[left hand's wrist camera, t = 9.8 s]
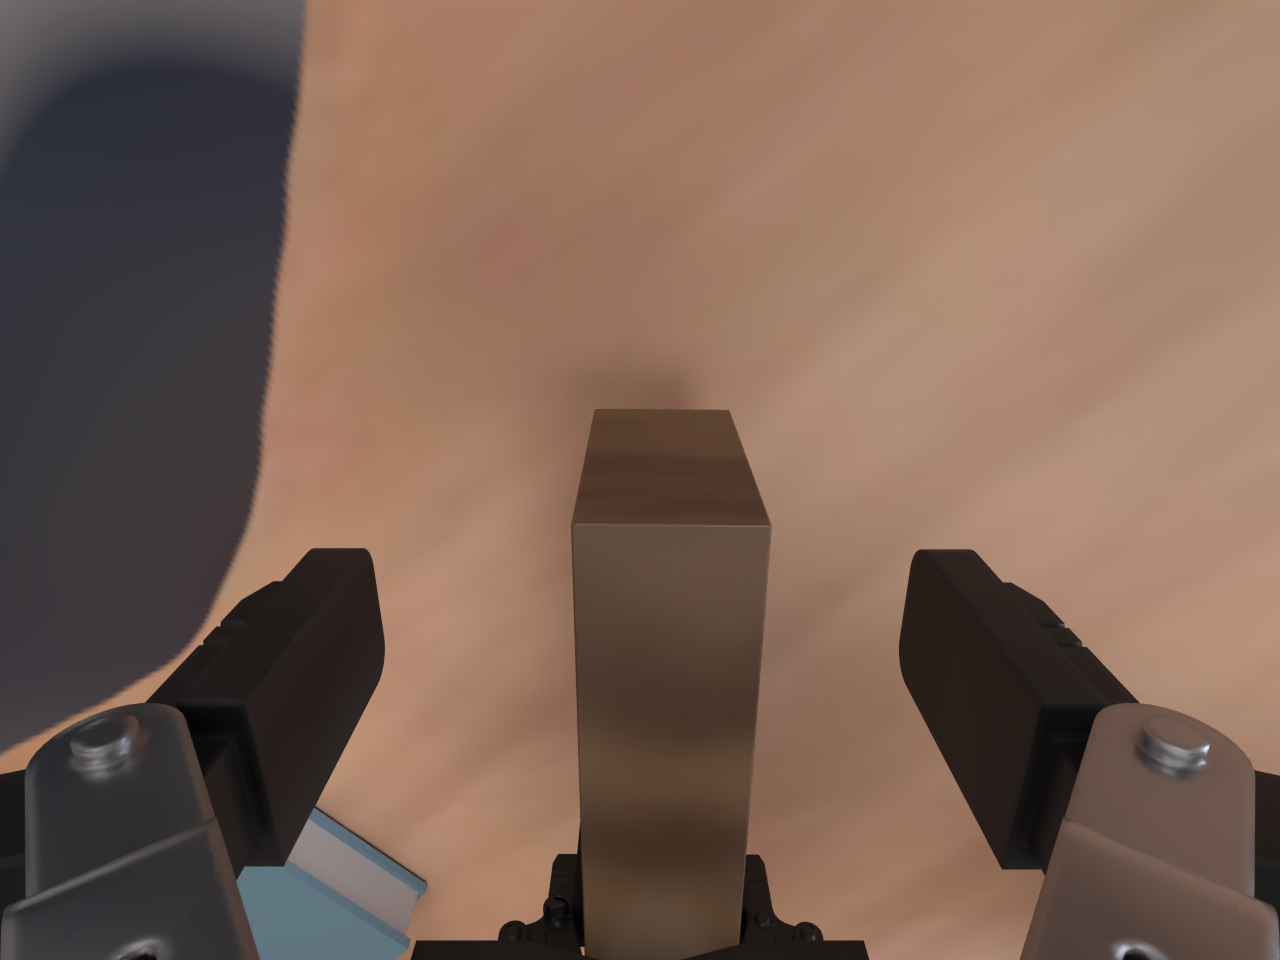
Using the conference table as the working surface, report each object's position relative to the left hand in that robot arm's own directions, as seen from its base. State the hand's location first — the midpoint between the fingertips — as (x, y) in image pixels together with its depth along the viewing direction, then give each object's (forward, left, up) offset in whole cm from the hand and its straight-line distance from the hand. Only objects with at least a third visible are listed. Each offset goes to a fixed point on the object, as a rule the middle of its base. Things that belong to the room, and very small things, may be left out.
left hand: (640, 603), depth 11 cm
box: (+16, +1, -23) cm, 28 cm away
